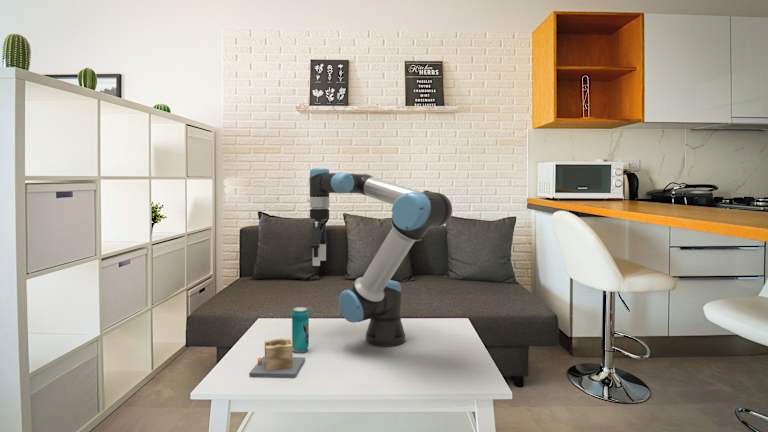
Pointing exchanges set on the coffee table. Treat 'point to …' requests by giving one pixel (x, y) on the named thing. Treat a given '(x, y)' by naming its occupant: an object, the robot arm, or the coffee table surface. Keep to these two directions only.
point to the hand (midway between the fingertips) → (319, 263)
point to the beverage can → (300, 329)
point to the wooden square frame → (278, 354)
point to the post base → (281, 373)
